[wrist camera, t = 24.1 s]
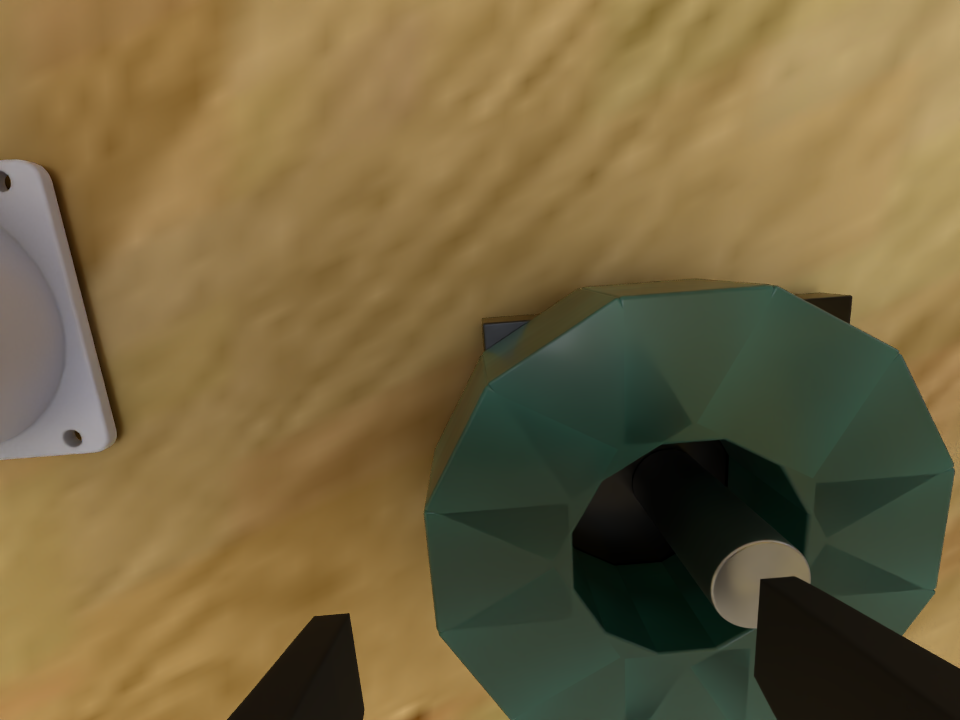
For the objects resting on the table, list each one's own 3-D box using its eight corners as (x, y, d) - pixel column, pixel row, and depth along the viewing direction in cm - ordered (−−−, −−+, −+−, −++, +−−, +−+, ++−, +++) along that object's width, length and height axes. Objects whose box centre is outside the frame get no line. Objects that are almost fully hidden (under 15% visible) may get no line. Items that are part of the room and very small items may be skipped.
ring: (455, 667, 14) (452, 778, 11) (418, 299, 12) (401, 313, 9) (818, 635, 15) (914, 738, 11) (855, 266, 12) (990, 267, 9)
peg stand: (502, 611, 15) (522, 803, 10) (481, 317, 13) (490, 357, 8) (794, 587, 16) (972, 764, 10) (820, 292, 13) (1063, 313, 8)
